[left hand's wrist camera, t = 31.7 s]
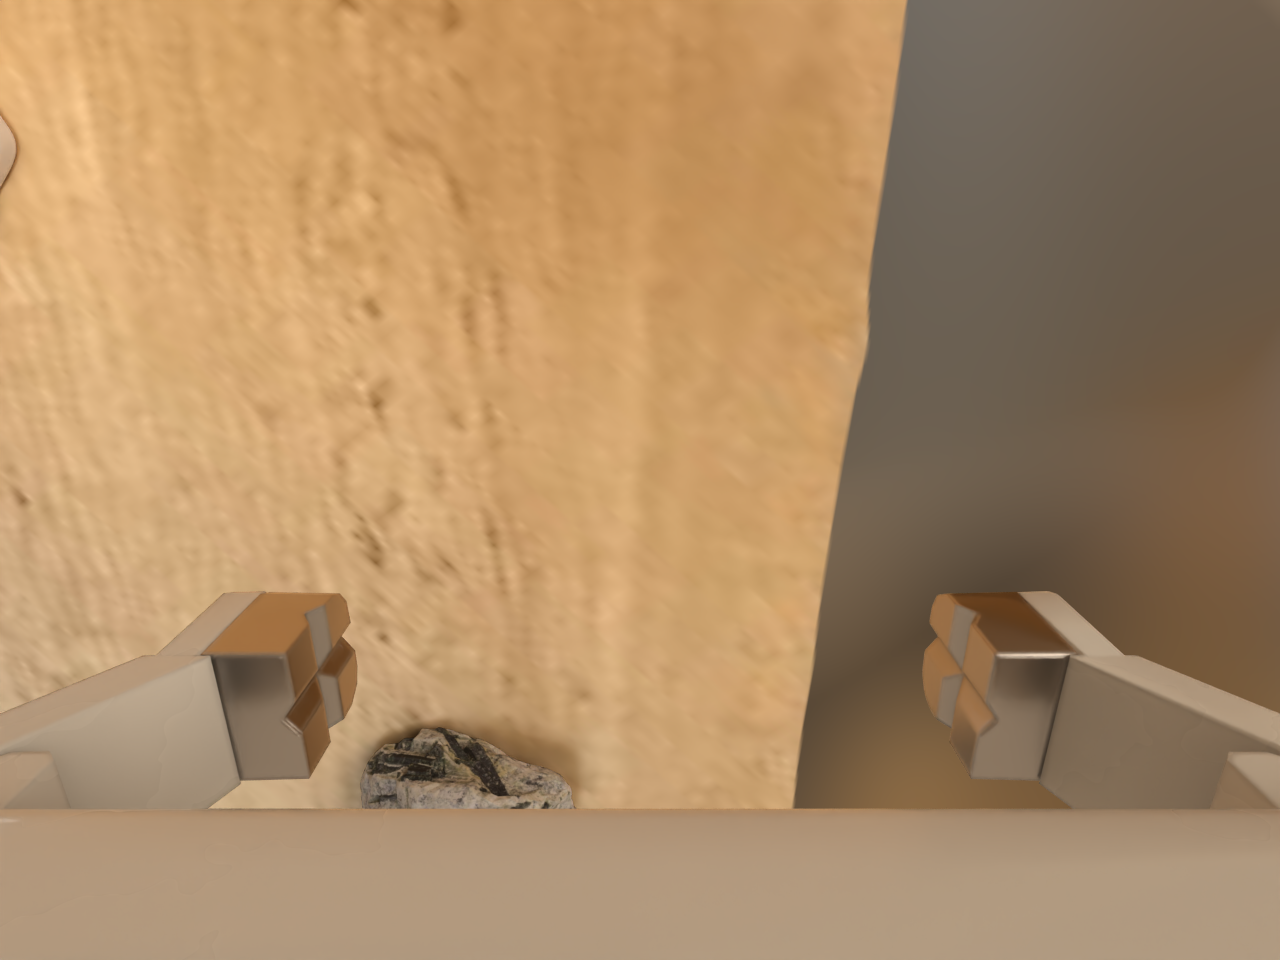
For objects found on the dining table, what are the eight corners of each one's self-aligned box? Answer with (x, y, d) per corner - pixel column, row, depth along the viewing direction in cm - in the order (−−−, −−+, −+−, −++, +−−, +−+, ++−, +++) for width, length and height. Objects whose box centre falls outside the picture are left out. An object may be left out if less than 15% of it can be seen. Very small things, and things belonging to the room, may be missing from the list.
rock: (369, 829, 54) (335, 918, 47) (368, 716, 50) (331, 795, 43) (571, 843, 55) (564, 932, 48) (584, 733, 51) (579, 813, 44)
